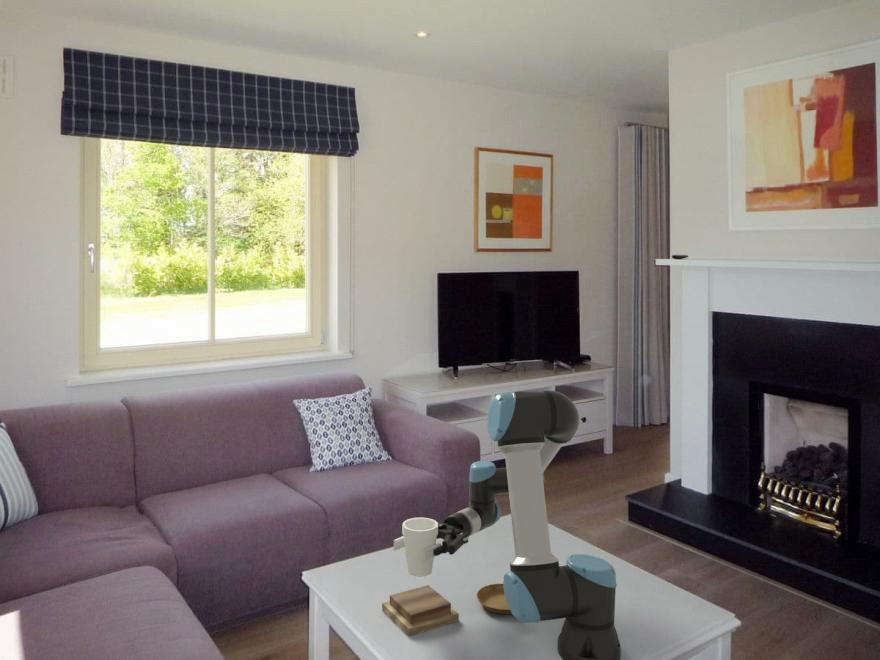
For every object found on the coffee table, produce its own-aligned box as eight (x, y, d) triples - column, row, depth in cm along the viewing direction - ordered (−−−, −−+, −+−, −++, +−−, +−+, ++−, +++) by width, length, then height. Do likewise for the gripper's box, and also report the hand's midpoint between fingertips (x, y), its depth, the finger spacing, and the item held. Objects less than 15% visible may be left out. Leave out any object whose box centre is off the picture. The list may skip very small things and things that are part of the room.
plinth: (458, 620, 191) (458, 604, 191) (408, 636, 184) (408, 619, 183) (430, 596, 204) (430, 581, 204) (382, 610, 196) (382, 594, 196)
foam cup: (397, 576, 190) (397, 528, 188) (408, 561, 198) (409, 515, 197) (431, 581, 187) (432, 533, 185) (442, 566, 196) (442, 520, 194)
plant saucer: (532, 618, 193) (533, 609, 193) (477, 618, 193) (477, 608, 193) (527, 592, 208) (527, 583, 207) (475, 591, 208) (475, 583, 208)
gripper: (493, 548, 199) (442, 577, 182) (431, 528, 213) (378, 552, 196) (493, 522, 198) (442, 548, 181) (431, 503, 212) (378, 526, 195)
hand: (409, 550), depth 188 cm, fingers closed on foam cup, 9 cm apart
